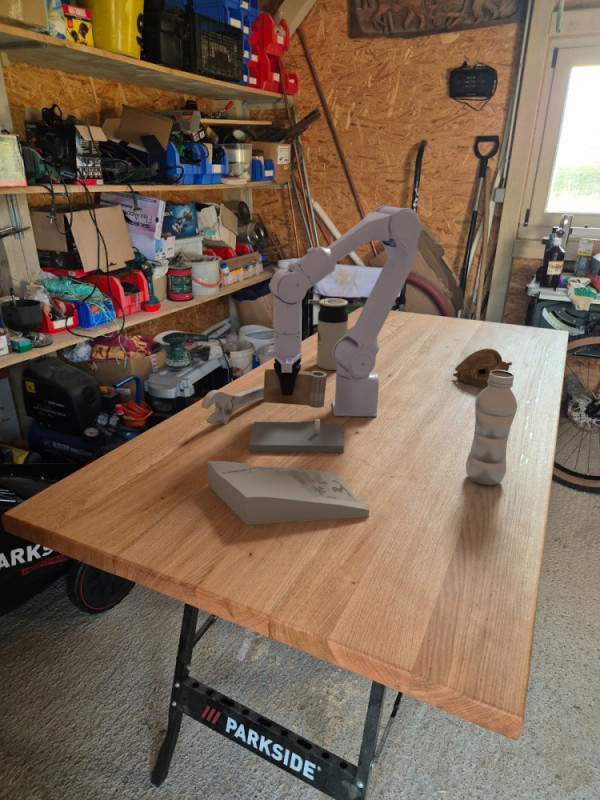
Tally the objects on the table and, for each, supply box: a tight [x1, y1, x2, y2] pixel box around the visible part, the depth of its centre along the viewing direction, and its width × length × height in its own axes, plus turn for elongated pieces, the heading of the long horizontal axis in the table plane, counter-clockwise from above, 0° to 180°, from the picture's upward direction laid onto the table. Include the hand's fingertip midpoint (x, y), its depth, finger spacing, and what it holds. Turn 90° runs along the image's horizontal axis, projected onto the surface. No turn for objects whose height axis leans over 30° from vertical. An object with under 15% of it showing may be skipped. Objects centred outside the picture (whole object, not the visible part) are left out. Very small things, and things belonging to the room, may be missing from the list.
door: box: [262, 368, 328, 409], centre depth 112 cm, size 13×4×7 cm, turn 90°
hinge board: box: [249, 418, 345, 454], centre depth 105 cm, size 18×10×4 cm, turn 90°
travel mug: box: [316, 297, 349, 371], centre depth 143 cm, size 8×8×18 cm
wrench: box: [200, 383, 264, 425], centre depth 119 cm, size 8×2×30 cm
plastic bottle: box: [465, 370, 518, 486], centre depth 89 cm, size 6×7×20 cm
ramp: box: [207, 460, 370, 526], centre depth 86 cm, size 28×16×5 cm, turn 75°
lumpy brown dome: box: [452, 348, 513, 389], centre depth 141 cm, size 10×24×15 cm
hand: (287, 392), depth 113 cm, fingers closed on door, 2 cm apart
